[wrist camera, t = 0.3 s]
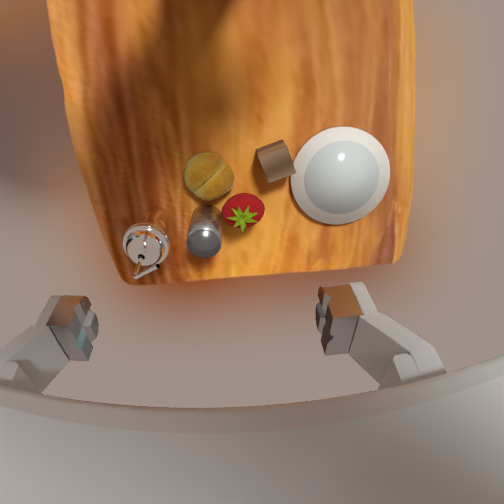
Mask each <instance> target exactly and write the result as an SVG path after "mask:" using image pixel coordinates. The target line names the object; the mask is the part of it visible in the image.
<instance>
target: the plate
mask: <svg viewBox="0 0 504 504" xmlns="http://www.w3.org/2000/svg"><path fill="white" fill-rule="evenodd" d="M293 165H294V168H295V170H296V174H293V175H290V184H291V189H292V192H293V195H294V198H295V200H296V202H297V204H298V205H299V206H300V208H301V209H302V210H303V211H304V212H305V213H306V214H307V215H308V216H310V217H311V218H313V219H315V220H317V221H319V222H322V223H326V224H336V225H338V224H346V223H350V222H353V221H356V220H358V219H360V218H362V217H364V216H366V215H367V214H368V213H370V212H371V211H372V210H373V209H374V208H375V207H376V206H377V205H378V204H379V202H380V201H381V200H382V198H383V196H384V194H385V192H386V190H387V187H388V184H389V179H390V165H389V160H388V157H387V154H386V152H385V150H384V149H383V147H382V145H381V144H380V143H379V142H378V141H377V140H376V139H375V138H374V137H373V136H371V135H370V134H368V133H367V132H365V131H363V130H361V129H358V128H355V127H350V126H336V127H330V128H327V129H324V130H322V131H320V132H318V133H316V134H315V135H313V136H312V137H310V138H309V139H308V140H307V141H306V142H305V143H304V144H303V145H302V146H301V148H300V149H299V150H298V152H297V154H296V156H295V158H294V160H293Z"/></svg>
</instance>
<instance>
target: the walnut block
mask: <svg viewBox="0 0 504 504" xmlns="http://www.w3.org/2000/svg"><path fill="white" fill-rule="evenodd" d="M256 151H257V154H258V158H259V160H260V163H261V165H262V168H263V170H264V173H265V175H266V178H267V180H268V183H271V182H274V181H276V180H279V179H282V178H284V177H287V176H290V175H293V174H296V170H295V168H294V165H293V162H292V159H291V156H290V154H289V151H288V148H287V146H286V144H285V143H284V141H283V140H280V141H277V142H274V143H271V144H269V145H266V146H263V147H261V148H258V149H256Z"/></svg>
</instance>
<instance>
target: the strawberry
mask: <svg viewBox="0 0 504 504" xmlns="http://www.w3.org/2000/svg"><path fill="white" fill-rule="evenodd" d="M264 210H265V207H264V204H263V202H262V201H261V200H260V199H259V198H258V197H256V196H255V195H252V194H249V193H241V194H237V195H234V196H232V197H231V198H229V199H228V200H227V202H226V203H225V204H224V206H223V208H222V216H223V218H224V220H225V222H226V223H227V224H229V225H231V226H233V228H234V227H238V228H241V230H242V232H243V230H244V229H245V227H249V226H252V225H254V224H256V223H257V222H259V221H260V220H261V218H262V217H263V214H264Z"/></svg>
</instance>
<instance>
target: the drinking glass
mask: <svg viewBox="0 0 504 504" xmlns="http://www.w3.org/2000/svg"><path fill="white" fill-rule="evenodd" d="M221 243H222V214H221V212H220V211H219V209H217V208H216V207H214V206H212V205H202V206H199V207H198V208H196V209H195V210H194V212H193V214H192V218H191V223H190V227H189V232H188V237H187V247H188V249H189V251H190V252H191V253H192V254H193V255H195V256H197V257H200V258H209V257H212V256H214V255H216V254H217V253H218V252H219V250H220V248H221Z"/></svg>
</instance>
